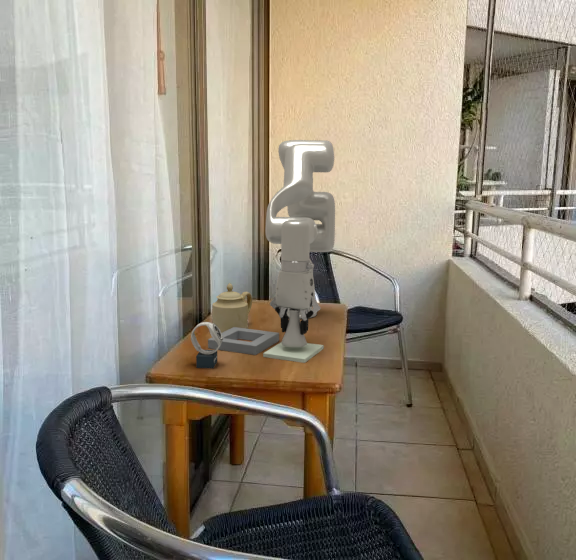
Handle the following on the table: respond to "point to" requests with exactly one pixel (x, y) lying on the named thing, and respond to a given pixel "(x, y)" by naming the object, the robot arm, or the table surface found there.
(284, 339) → the flask
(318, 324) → the table surface
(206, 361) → the watch
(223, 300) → the sugar bowl
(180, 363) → the table surface
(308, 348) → the sage mat
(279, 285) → the robot arm
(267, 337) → the frame
